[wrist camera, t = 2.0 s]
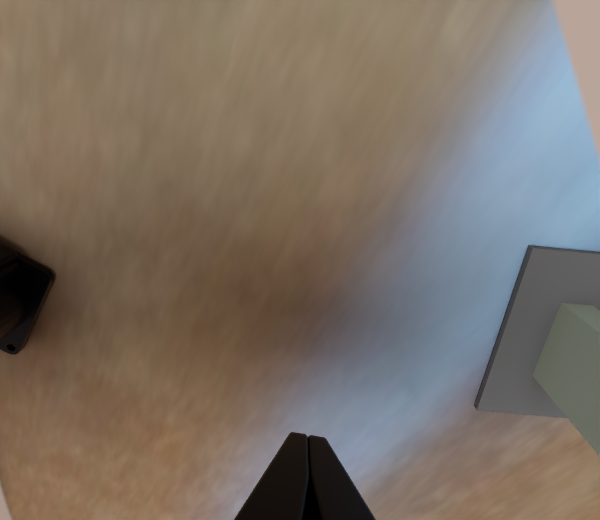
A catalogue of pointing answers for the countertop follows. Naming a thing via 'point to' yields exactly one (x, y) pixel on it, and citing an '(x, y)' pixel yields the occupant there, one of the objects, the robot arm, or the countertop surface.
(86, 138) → the countertop surface
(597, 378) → the domino
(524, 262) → the mat
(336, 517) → the robot arm
